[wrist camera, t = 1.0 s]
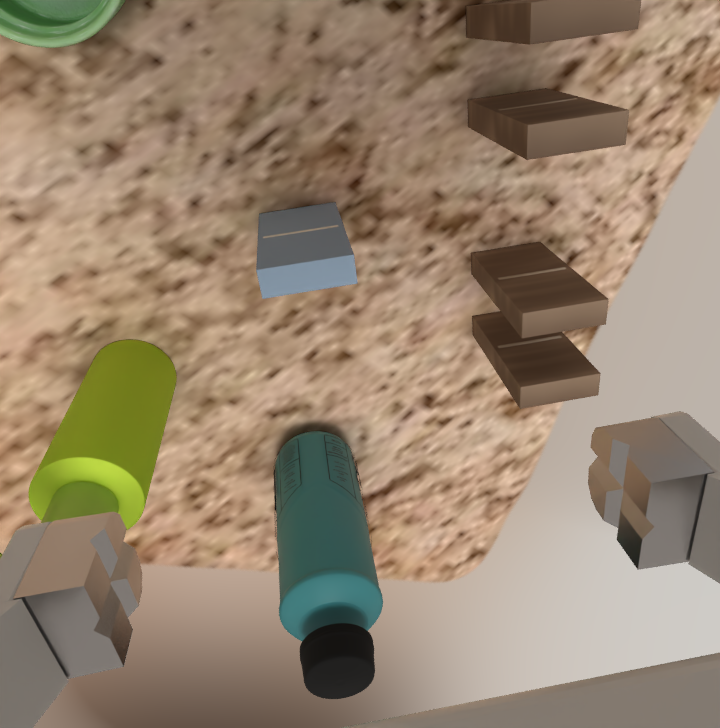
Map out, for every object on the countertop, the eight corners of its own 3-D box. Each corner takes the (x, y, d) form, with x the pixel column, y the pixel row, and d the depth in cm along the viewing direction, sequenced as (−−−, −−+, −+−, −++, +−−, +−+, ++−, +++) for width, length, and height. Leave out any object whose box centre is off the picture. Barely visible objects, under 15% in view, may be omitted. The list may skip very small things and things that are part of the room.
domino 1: (259, 213, 39) (256, 269, 30) (335, 201, 39) (353, 254, 30) (264, 237, 39) (262, 298, 31) (338, 225, 40) (357, 283, 31)
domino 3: (467, 99, 37) (527, 124, 28) (546, 88, 37) (629, 109, 28) (468, 127, 38) (526, 160, 29) (545, 115, 38) (625, 144, 29)
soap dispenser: (114, 314, 41) (1, 530, 24) (193, 374, 44) (144, 603, 27) (61, 367, 42) (-81, 606, 25) (141, 421, 45) (64, 667, 28)
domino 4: (470, 252, 42) (522, 313, 33) (539, 241, 42) (608, 299, 34) (471, 274, 43) (521, 338, 34) (538, 263, 43) (605, 324, 34)
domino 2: (465, 6, 34) (531, 2, 26) (549, -6, 34) (642, -14, 26) (466, 37, 35) (530, 44, 26) (548, 26, 35) (638, 29, 27)
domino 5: (472, 315, 45) (520, 387, 36) (537, 305, 45) (600, 373, 36) (472, 334, 45) (520, 409, 37) (536, 324, 46) (598, 395, 37)
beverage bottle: (259, 434, 47) (254, 671, 30) (337, 404, 47) (375, 628, 30) (293, 490, 51) (305, 731, 34) (365, 462, 50) (415, 693, 33)
